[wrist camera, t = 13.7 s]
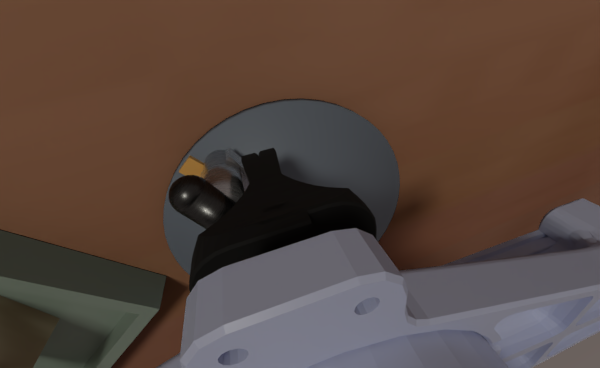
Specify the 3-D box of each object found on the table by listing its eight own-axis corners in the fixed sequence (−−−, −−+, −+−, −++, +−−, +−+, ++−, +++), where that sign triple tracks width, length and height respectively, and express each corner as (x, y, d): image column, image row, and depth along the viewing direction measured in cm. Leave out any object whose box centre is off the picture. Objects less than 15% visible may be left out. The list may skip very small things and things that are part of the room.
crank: (331, 221, 18) (368, 284, 13) (292, 252, 18) (316, 323, 14) (213, 109, 12) (211, 156, 8) (161, 159, 12) (131, 230, 8)
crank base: (430, 185, 20) (438, 191, 19) (300, 309, 24) (303, 318, 23) (276, 26, 12) (280, 26, 11) (113, 255, 15) (108, 266, 15)
